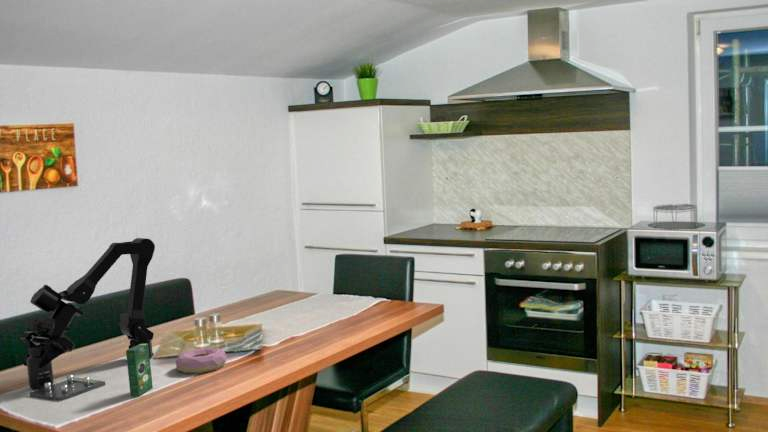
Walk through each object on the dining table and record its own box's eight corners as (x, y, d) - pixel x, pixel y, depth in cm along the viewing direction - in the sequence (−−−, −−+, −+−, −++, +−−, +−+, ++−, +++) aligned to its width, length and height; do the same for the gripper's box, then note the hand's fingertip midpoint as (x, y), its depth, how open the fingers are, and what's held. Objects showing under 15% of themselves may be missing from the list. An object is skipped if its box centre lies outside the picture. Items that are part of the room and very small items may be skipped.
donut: (166, 372, 243) (164, 356, 242) (206, 359, 254) (205, 343, 254) (197, 378, 233) (196, 361, 232) (238, 364, 244) (236, 348, 244)
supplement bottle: (45, 389, 234) (40, 349, 232) (24, 389, 235) (19, 350, 234) (59, 382, 240) (54, 343, 239) (39, 382, 242) (34, 343, 240)
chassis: (74, 380, 240) (73, 371, 240) (105, 384, 233) (104, 374, 233) (29, 396, 228) (28, 385, 228) (61, 401, 220) (59, 390, 220)
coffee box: (144, 387, 227) (139, 342, 226) (153, 387, 226) (148, 342, 225) (129, 397, 219) (124, 350, 218) (139, 396, 218) (134, 350, 217)
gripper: (21, 305, 243) (-8, 350, 235) (60, 307, 233) (31, 355, 225) (47, 324, 250) (20, 369, 242) (86, 327, 240) (59, 374, 232)
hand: (32, 366), depth 235 cm, fingers closed on supplement bottle, 6 cm apart
